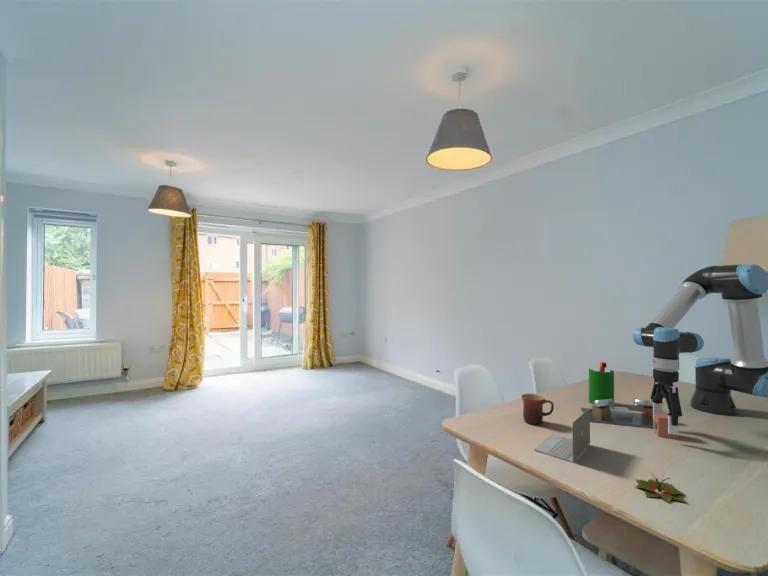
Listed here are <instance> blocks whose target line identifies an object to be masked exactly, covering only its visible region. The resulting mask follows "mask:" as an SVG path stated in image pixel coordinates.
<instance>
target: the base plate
mask: <svg viewBox="0 0 768 576" xmlns="http://www.w3.org/2000/svg"><path fill="white" fill-rule="evenodd" d="M633 405H634V406H635V407H641V408H640V409H641V412H633V411H631V410H630V409H629V408H628V407H625V406H617V405H616V406H615V405H614V406H610V407H609V408H610V419H605V420H599V419H597V418H594V417H592V408H588V407H580V410H581V412H582V414H583V413H584V412H586V411H587V410H588V409H590V423H597V424H598V423H600V424H609V425H618V426H628V427H635V428H636V427H637V428H647V429H654V427H653V421H654V420H653V401H652V400H651V399H643V398H642V399H641V398H634V399H633Z"/></svg>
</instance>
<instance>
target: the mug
mask: <svg viewBox="0 0 768 576" xmlns="http://www.w3.org/2000/svg"><path fill="white" fill-rule="evenodd" d="M545 398H546V397H544V396H542V395H540V394H537V393H524V394H521V399H522V403H523V404H522V407H523V408H522V411H523V412H522V414H523V415H522V417H523V420H524V422H525V423H527V424H529V425H534V426H535V425H536V426H538V425H541V424H542V423H543V421H544V417H549V416H550V415H551V414H553V411H554V409H555V408H554V406H555V405H554V402H553V401H552V400H549V399H545ZM547 403H549V404H550V410H549V411H548V412H544V410H543V409H544V407H543V406H544V404H547Z"/></svg>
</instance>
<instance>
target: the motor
mask: <svg viewBox="0 0 768 576" xmlns="http://www.w3.org/2000/svg"><path fill="white" fill-rule="evenodd" d="M605 368H606V369H607V362H606V361H600V362H599V370H598V371H597V370H594V369H591V368H588V402H589V403H590V404H592V405H594V401H595V400H604V399H613V400H614V401H615V371H614V369H610V371H606V369H605ZM613 406H615V404H614V405H613ZM607 407H609V408H610V406H607Z"/></svg>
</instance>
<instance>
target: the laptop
mask: <svg viewBox="0 0 768 576" xmlns="http://www.w3.org/2000/svg"><path fill="white" fill-rule="evenodd" d="M590 409H591V408H590ZM590 409H588V410H587V411H586V412H584V413H583V412H582V414H580V416H579V417H577V418H576V419H575V420H574V421H573V422H572V438H571V437H567V436H564V435H561V434H557V433H552V434H550V435H549V436H548V437H547V438H545V439H544V440H542V442H541V443H540V444H538V445H537V446H535V448H533V451H536V452H538V453H541V454H543V455H547V456H550V457H553V458H557V459H560V460H563V461H565V462H569V463H573V464H574V463H575V461H577V460H578V459H579V457H580V456H582V455H583V453H584V452H585V450H587V448H588V447H589V446H590V443H591V422H590Z"/></svg>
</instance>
